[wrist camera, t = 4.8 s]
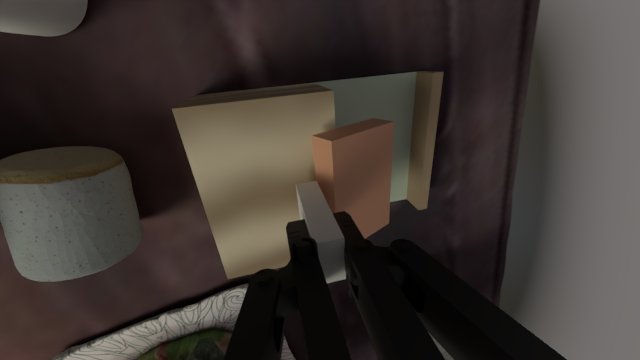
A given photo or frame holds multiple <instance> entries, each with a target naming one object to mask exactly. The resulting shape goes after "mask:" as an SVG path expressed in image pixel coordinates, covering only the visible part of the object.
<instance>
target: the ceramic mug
mask: <svg viewBox="0 0 640 360" xmlns="http://www.w3.org/2000/svg"><path fill="white" fill-rule="evenodd" d="M0 221H1V224H2V226H3V229H4V233H5V237H6V240H7V242H8V245H9V249H10V252H11V255H12V257H13V260H14V263H15V266H16V268H17V270H18V271H19V273H20V274H21V275H22V276H24V277H26V278H28V279H31V280H35V281H43V282H47V281H51V282H53V281H63V280H69V279H74V278H78V277H82V276H86V275H90V274H93V273H96V272H99V271H102V270H104V269H106V268H108V267H110V266H112V265H114V264H116V263H118V262H120V261H122V260H123V259H125V258H126V257H127V256H129V255H130V254H131V253H132V252H133V251H134V250H136V249H137V247H138V246H139V245H140V243H141V241H142V238H143V230H142V226H141V223H140V218H139V213H138V209H137V205H136V201H135V197H134V193H133V188H132V182H131V178H130V174H129V171H128V169H127V166H126V164H125V162H124V160H123V158H122V157H121V156H120V155H119V154H118V153H116V152H115V151H112V150H110V149H107V148H101V147H93V146H69V147H55V148H46V149H39V150H33V151H27V152H22V153H18V154H15V155H12V156H9V157H6V158H4V159H1V160H0Z"/></svg>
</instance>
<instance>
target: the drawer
mask: <svg viewBox="0 0 640 360" xmlns="http://www.w3.org/2000/svg"><path fill="white" fill-rule="evenodd" d="M443 73H444V72H436V71H417V72H408V73H398V74H389V75H380V76H370V77H361V78H352V79H342V80H333V81H324V82H314V83H315V84H318V85H321V86H323V87H326V88H328V89H331V90H334V107H335V125H336V128H340V127H343V126H347V125H350V124H354V123H357V122H361V121H364V120H368V119H371V118H376V119H382V120H389V121H394V135H393V154H392V173H391V192H390V202H393V201H398V200H403V199H407V200H408V201H409V202H410V203H411V204H413V205H414V206H415V207H416V208H417V209H418V210H422V209H427V203H428V195H429V187H430V179H431V171H432V162H433V154H434V146H435V138H436V130H437V122H438V113H439V105H440V97H441V89H442V81H443Z"/></svg>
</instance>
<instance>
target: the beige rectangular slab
mask: <svg viewBox="0 0 640 360" xmlns="http://www.w3.org/2000/svg"><path fill="white" fill-rule="evenodd" d="M172 111H173V114H174V117H175V120H176V123H177V126H178V129H179V133H180V136H181V139H182V142H183V145H184V148H185V151H186V154H187V157H188V160H189V163H190V166H191V169H192V172H193V175H194V178H195V181H196V184H197V187H198V190H199V193H200V196H201V199H202V202H203V205H204V208H205V211H206V214H207V217H208V220H209V223H210V226H211V229H212V233H213V236H214V239H215V242H216V245H217V248H218V251H219V254H220V257H221V260H222V263H223V266H224V269H225V272H226V275H227V278H228V279H231V278H235V277H240V276H244V275H249V274H253V273H256V272H258V271H260V270H262V269H267V268H269V269H276V268H280V267H285V266H286V265H287V264H288V263H289V261H290V251H289V245H288V239H287V233H286V226H287V224H288V222H292V221H297V220H301V219H300V214H299V207H298V199H297V191H296V184H301V183H307V182H313V181H316V177H315V166H314V155H313V144H312V135H315V134H319V133H322V132H326V131H329V130H333V129H336V125H335V107H334V90H331V89H328V88H326V87H323V86H321V85H318V84H315V83H305V84H295V85H286V86H277V87H267V88H258V89H249V90H239V91H230V92H221V93H211V94H202V95H196V96H194V97H192V98H190V99H189V100H187V101H185V102H183V103H181V104H180V105H178V106H176V107H174V108H172Z"/></svg>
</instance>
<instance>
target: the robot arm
mask: <svg viewBox="0 0 640 360" xmlns="http://www.w3.org/2000/svg"><path fill="white" fill-rule="evenodd" d="M296 191H297V199H298V207H299V214H300V219H301V220H297V221H292V222H288V224H287V226H286V233H287V239H288V245H289V251H290V261H289V263H288V264H287V265H286V266H285V267H284V268H282V269H280V270H278V271H276V270H274V269H269V268H267V269H262V270H260V271H258V272H256V273H255V274H254V275H253V276H252V277H251V279H250V282H249V285H248V288H247V291H246V294H245V297H244V300H243V303H242V306H241V308H240V311H239V314H238V317H237V320H236V323H235V326H234V329H233V332H232V335H231V338H230V341H229V344H228V347H227V350H226V353H225V356H224V359H223V360H281V354H282V347H283V341H284V334H285V327H286V320H287V315H289V314H290V313H292V312H294V311H295V310H297V309H299V310H300V316H301V322H302V328H303V333H304V339H305V345H306V351H307V357H308V360H351V358H350V355H349V352H348V349H347V345H346V342H345V339H344V336H343V333H342V330H341V326H340V323H339V320H338V317H337V314H336V311H335V307H334V304H333V301H332V298H331V295H330V292H329V288H328V285H327V283H331V282H335V281H339V280H344V279H346V273H347V276H348V278H349V296H350V297H352V295H353V297H354V300H355V302H356V305H357V307H358V310H359V312H360V315H361V317H362V320H363V322H364V325H365V327H366V330H367V332H368V335H369V337H370V340H371V342H372V344H373V347H374V349H375V352H376V354H377V357H378V359H379V360H445V358H444V357H443V355H442V353H441V352H440V350H439V349H438V347H437V345H436V344H435V342H434V341H433V339H432V337H433V338H434V339H435V340H436V341H437V342H438V343H439V344H440V345H441V346H442V347H443V348H444V349H445V351H446V352H447V353H448V354H449V355H450V356H451V357H452V358H453V359H454V360H567V359H565V358H564V357H563V356H561V355H560V354H559V353H557V352H556V351H555V350H554V349H552V348H551V347H549V346H548V345H547V344H546V343H544V342H543V341H542V340H540V339H539V338H538V337H536V336H535V335H534V334H533V333H531V332H530V331H529V330H527V329H526V328H525V327H523V326H522V325H521V324H519V323H518V322H517V321H516V320H514V319H513V318H512V317H510V316H509V315H508V314H506V313H505V312H504V311H502V310H501V309H500V308H498V307H497V306H496V305H495V304H493V303H492V302H491V301H489V300H488V299H487V298H485V297H484V296H483V295H481V294H480V293H479V292H477V291H476V290H475V289H474V288H472V287H471V286H470V285H468V284H467V283H466V282H464V281H463V280H462V279H460V278H459V277H458V276H456V275H455V274H454V273H453V272H451V271H450V270H449V269H447V268H446V267H445V266H443V265H442V264H441V263H439V262H438V261H437V260H435V259H434V258H433V257H431V256H430V255H429V254H428V253H426V252H425V251H424V250H422V249H421V248H420V247H418V246H417V245H416V244H414V243H413V242H411V241H409V240H405V239H398V240H394V241H393V242H391V244H390V247H378V246H374V245H373V244H372V243H371V242H370V241H369V240H366V239H364V237H363V235H362V234H361V232H360V230H359V229H358V227H357V225H356V224H355V222H354V221H353V219H352V217H351V215H350V214H348V213H347V212H345V211H342V212H336V213H332V212H331V209H330V207H329V205H328V203H327V201H326V199H325V197H324V195H323V193H322V191H321V189H320V187H319V185H318V183H317V181H313V182H307V183H301V184H296ZM428 332H429V333H430V334H431V335H432V337H431V336H430V334H429V333H428Z"/></svg>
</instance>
